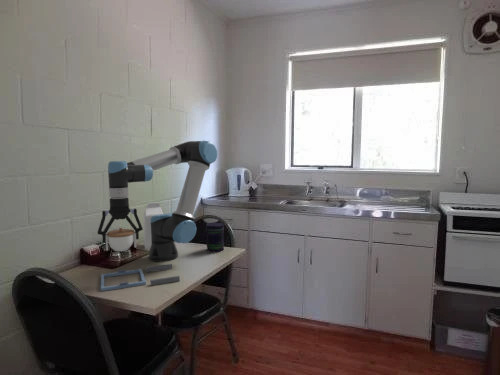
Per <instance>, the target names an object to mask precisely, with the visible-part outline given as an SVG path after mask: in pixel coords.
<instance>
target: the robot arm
mask: <svg viewBox="0 0 500 375" xmlns="http://www.w3.org/2000/svg"><path fill="white" fill-rule="evenodd" d="M217 159H218V150H217V147H216V145H215V144H214V143H213V142H212V141H210V140H203V139H202V140H191V141H185V142H182V143H180V144H177V145H175V146H171V147H169V149H168V150H165V151H160V152H158V153H155V154H152V155H148V156H145V157H142V158H139V159H136V160H135V159H134V160H133V161H129V162H127V161H126V160H111V161H109V162H108V166H107V174H108V191H109V193H108V194H109V210H102V211H101V213H102V214H101V216H102V217H101V220H100V223H99V226H98V230H97V235H101V236H102V243H105V250H106V251H109V242H108V236H107V233H108V232H109V229H110V228H111V226H112V224H113V223H114V222H115V220H116V221H117V220H118V221H119V220H125V219H126V221H127V222H128V223H129V225H130V226H131V228H132V230H134V240H133V247H134V248H137V240H140V239H139V238H140V237H139V236H140V235H139V233H140V232H141V231H144V227H143V226H142V223H141V222H140V218H139V216H138V214H137V213H138V210H137V208H130V205H129V204H130V202H129V183H130V184H131V183H141V182H142V183H146V182H149V181H151V180H152V179H153V177H154V171H156V170H159V169H162V168H165V167H168V166H170V165H173V164H175V165H179V164H186V163H187V165H188V170H187V173H186V177H185V179H184V182H183V187H182V190H181V192H180V197H179V200H178V203H177V207H176V210H175V211H173V212H171V213H163V214H160V215H154V216H152V217H151V223H150V224H151V240H152V244H151V248H150V249H149V251H148V259H149V260H150V261H153V262H167V261H172V260H175V259H177V258H178V257H179V252H178V249H177V247H176V246H177V245H176V243H178V244H186V243H189V242H191V241H192V240H193V239H194V238H195V236H196V234H197V225H196V223H195V217H194V212H195V209H196V205H197V201H198V198H199V194H200V190H201V187H202V184H203V180H204V176H205V175H206V174H205V173H206V171H208V170H209V169H210V166H211V164H213V163H215V161H217ZM130 212H131V214H132V215H133V216H134V219H135V221H136V224H137V226H138V227H137V226H136V225H135V224H134V221H132V219H131V218H130V217H129V215H130ZM108 215H110V216H111V218H110V219H109V221H108V223H107V224H106V226H105V227H104V224H105V220H106V217H107V216H108ZM103 227H104V229H103ZM102 229H103V230H102Z"/></svg>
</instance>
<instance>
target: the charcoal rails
mask: <svg viewBox="0 0 500 375" xmlns="http://www.w3.org/2000/svg"><path fill="white" fill-rule="evenodd" d="M172 269H173V264H172V263H169V264H162V265H161V264H160V265H154V266H153V265H152V266H147V267H145V272H146V273H151V272H157V271H158V272H159V271H164V270H165V271H166V270H172ZM180 278H181V276H180V275H175V276H168V277H162V278H155V279H150V286H156V285H163V284H168V283H169V284H170V283H176V282H180V280H181V279H180Z"/></svg>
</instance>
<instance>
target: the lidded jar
mask: <svg viewBox="0 0 500 375" xmlns="http://www.w3.org/2000/svg"><path fill="white" fill-rule="evenodd" d="M134 232H135V230H134V229H132V228H131V229H130V228H122V227H119V229H113V230H108V231H107V233H106V234H107V237H108V246H109V247H110V248H111V249H112V250H113V251H114V252H125V251H129V250H130V248H131V247H132V245H134Z"/></svg>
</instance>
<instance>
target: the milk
mask: <svg viewBox="0 0 500 375" xmlns="http://www.w3.org/2000/svg"><path fill="white" fill-rule="evenodd" d="M160 214H164V212H163V210H162V207H161V204H160V202H158V201H156V202H147V205H146V207H145V210H144V212H143V246H144V248H145V250H150V248H151V244H152V240H151V224H150V223H151V217H152V216H154V215H160Z"/></svg>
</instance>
